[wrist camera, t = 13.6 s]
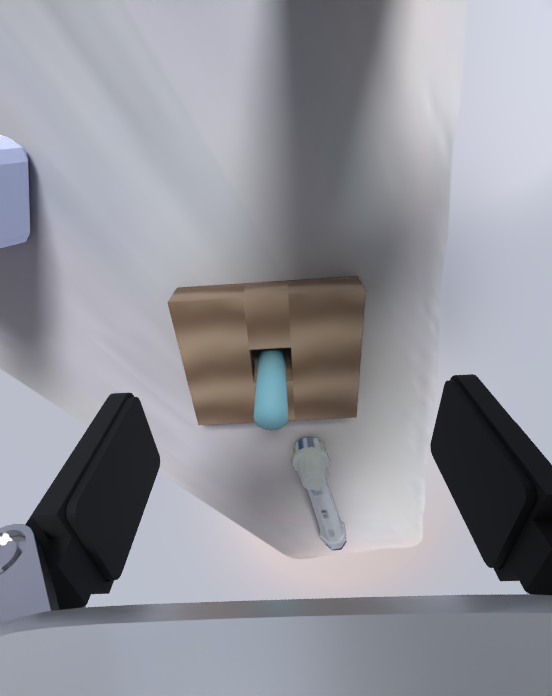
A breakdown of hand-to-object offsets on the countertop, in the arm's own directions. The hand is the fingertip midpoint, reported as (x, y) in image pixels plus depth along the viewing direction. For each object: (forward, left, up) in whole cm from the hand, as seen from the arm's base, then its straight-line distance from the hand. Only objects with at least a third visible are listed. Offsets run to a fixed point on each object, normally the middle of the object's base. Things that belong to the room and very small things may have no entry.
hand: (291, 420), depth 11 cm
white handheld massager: (+42, +4, -29) cm, 51 cm away
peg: (+15, -2, -28) cm, 32 cm away
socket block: (+15, -2, -28) cm, 32 cm away
